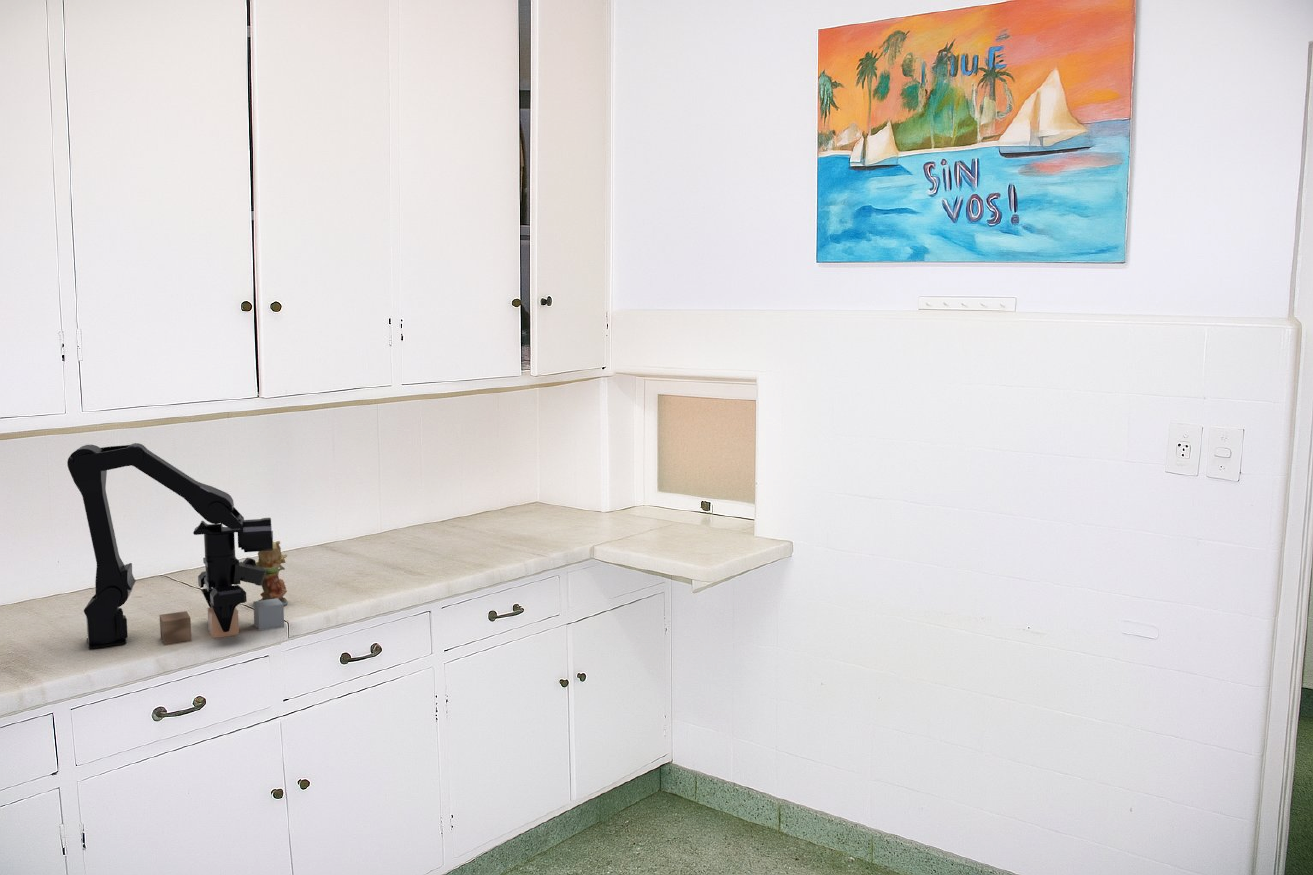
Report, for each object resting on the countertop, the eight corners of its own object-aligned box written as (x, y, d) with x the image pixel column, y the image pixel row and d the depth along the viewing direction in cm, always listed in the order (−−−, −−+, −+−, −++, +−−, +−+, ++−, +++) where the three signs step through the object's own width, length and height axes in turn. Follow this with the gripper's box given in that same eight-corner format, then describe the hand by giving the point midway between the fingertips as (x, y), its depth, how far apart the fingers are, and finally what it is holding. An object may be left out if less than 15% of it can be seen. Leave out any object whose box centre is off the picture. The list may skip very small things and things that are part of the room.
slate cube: (259, 631, 212) (258, 607, 212) (254, 624, 216) (253, 601, 216) (284, 627, 215) (283, 604, 214) (278, 620, 219) (277, 598, 218)
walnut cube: (164, 645, 202) (162, 621, 202) (160, 638, 207) (159, 614, 206) (191, 641, 205) (190, 617, 204) (187, 634, 209) (186, 611, 209)
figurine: (293, 600, 234) (291, 536, 232) (282, 610, 226) (280, 544, 224) (253, 599, 233) (250, 535, 231) (241, 609, 226) (238, 543, 224)
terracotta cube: (212, 638, 207) (211, 614, 207) (208, 631, 211) (207, 608, 211) (238, 634, 210) (238, 610, 209) (234, 627, 214) (233, 604, 214)
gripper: (271, 558, 205) (274, 633, 207) (251, 539, 221) (254, 609, 223) (212, 565, 199) (215, 643, 201) (196, 546, 215) (199, 617, 217)
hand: (223, 627), depth 211 cm, fingers open, 6 cm apart
